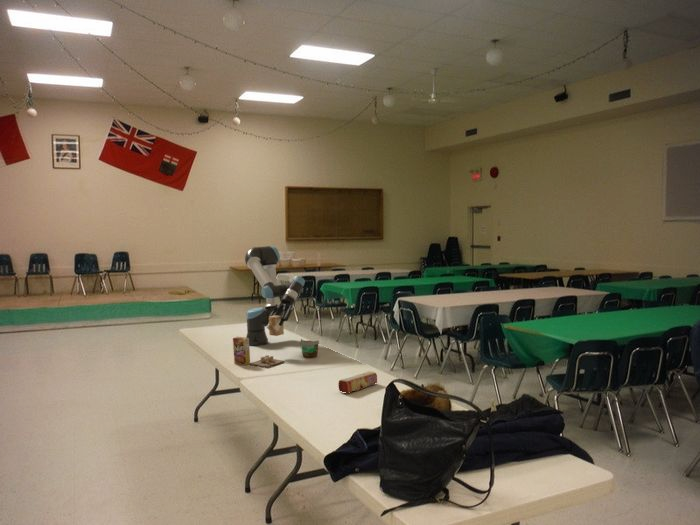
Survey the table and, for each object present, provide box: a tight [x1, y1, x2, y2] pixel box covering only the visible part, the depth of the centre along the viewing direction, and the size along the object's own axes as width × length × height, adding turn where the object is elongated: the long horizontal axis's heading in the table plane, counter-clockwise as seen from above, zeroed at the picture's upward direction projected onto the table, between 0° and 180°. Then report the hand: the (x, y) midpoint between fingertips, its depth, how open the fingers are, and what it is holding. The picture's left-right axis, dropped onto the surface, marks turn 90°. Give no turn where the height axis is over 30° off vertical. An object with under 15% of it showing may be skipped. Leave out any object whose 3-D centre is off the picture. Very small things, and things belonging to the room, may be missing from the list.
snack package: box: [337, 371, 378, 394], centre depth 261 cm, size 21×7×7 cm, turn 135°
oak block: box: [268, 315, 285, 337], centre depth 329 cm, size 6×6×11 cm
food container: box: [299, 338, 320, 359], centre depth 325 cm, size 12×6×10 cm, turn 62°
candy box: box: [232, 336, 251, 366], centre depth 315 cm, size 9×4×15 cm, turn 60°
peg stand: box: [248, 355, 286, 369], centre depth 313 cm, size 14×14×4 cm
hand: (272, 329), depth 326 cm, fingers closed on oak block, 6 cm apart
